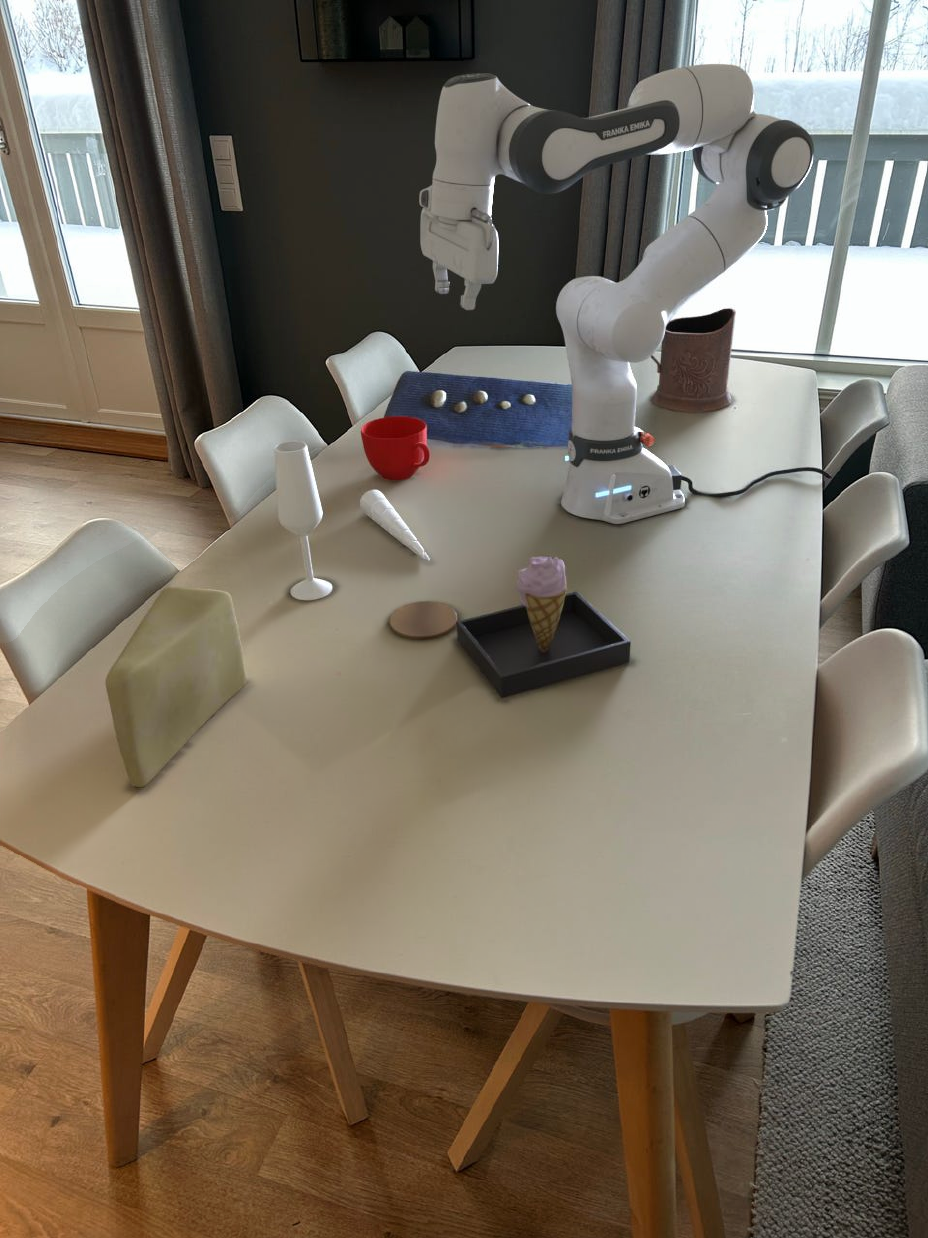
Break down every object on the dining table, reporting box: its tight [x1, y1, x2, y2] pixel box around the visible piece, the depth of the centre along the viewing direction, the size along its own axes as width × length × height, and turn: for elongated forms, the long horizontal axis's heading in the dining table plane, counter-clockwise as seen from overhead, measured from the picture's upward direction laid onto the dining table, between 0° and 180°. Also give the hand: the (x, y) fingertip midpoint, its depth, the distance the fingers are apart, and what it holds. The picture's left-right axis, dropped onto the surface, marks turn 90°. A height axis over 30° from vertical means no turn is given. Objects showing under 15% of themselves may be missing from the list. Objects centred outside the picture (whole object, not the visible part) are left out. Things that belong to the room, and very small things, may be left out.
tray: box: [456, 590, 632, 699], centre depth 126 cm, size 19×15×3 cm
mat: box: [382, 370, 572, 449], centre depth 205 cm, size 45×27×12 cm, turn 82°
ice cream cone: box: [515, 556, 568, 652], centre depth 122 cm, size 7×6×15 cm
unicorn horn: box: [359, 489, 430, 561], centre depth 158 cm, size 5×24×5 cm, turn 25°
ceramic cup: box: [360, 416, 431, 482], centre depth 179 cm, size 13×17×10 cm
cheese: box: [104, 586, 247, 788], centre depth 111 cm, size 22×10×15 cm, turn 168°
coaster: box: [389, 600, 458, 640], centre depth 134 cm, size 10×10×1 cm
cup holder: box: [649, 307, 737, 413], centre depth 209 cm, size 18×24×25 cm
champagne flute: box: [273, 440, 333, 601], centre depth 138 cm, size 7×7×24 cm
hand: (454, 300), depth 139 cm, fingers open, 8 cm apart
